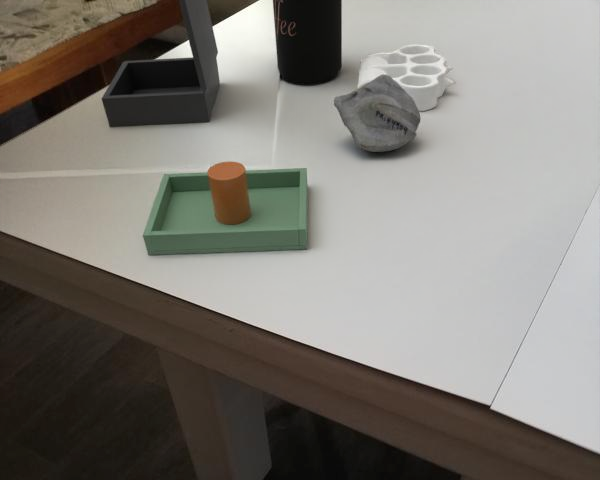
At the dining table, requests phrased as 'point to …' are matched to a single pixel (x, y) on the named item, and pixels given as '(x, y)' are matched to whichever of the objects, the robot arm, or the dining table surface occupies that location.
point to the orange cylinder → (229, 192)
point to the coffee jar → (308, 39)
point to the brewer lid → (200, 37)
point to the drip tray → (221, 237)
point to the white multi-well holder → (410, 72)
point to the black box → (159, 93)
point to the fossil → (379, 115)
